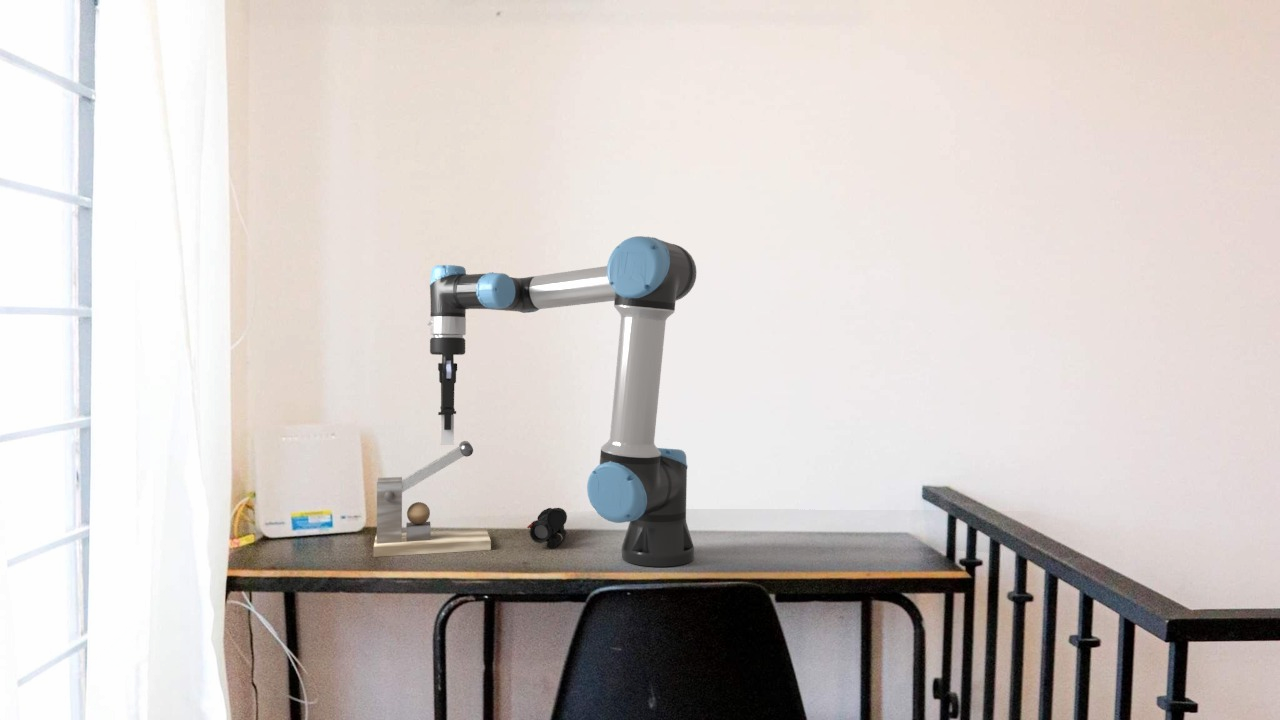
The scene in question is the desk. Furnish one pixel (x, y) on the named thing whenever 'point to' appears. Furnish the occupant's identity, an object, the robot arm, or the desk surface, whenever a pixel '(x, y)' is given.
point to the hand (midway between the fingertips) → (447, 444)
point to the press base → (437, 543)
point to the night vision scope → (549, 527)
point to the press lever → (437, 465)
